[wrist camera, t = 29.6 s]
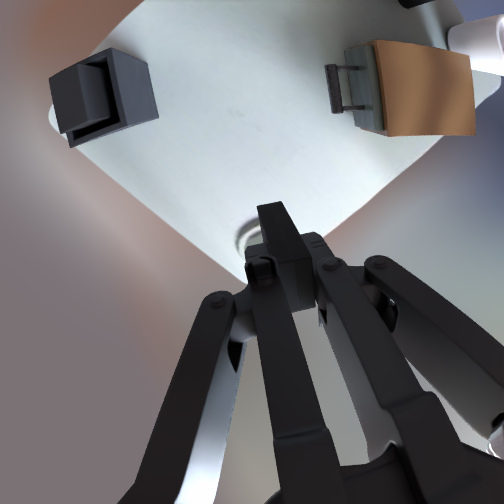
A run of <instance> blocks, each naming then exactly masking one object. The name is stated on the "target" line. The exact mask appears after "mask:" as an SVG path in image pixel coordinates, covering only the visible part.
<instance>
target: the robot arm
mask: <svg viewBox="0 0 504 504" xmlns="http://www.w3.org/2000/svg"><path fill="white" fill-rule="evenodd" d="M257 211H258V216H259V221H260V226H261V232H262V237H263V242H264V243H261V244H256V245H252V246H248V247H247V248H246V250H245V252H244V253H245V259H246V263H245V272H246V276H247V280H248V285H247V287H246V288H245V289H244V290H242V291H241V292H239V293H237V294H235V295H232V294H231V293H230V292H228V291H217V292H214V293H211V294H209V295H208V296H206V297H205V298H204V300H203V301H202V303H201V306H200V308H199V311H198V313H197V316H196V318H195V321H194V323H193V326H192V328H191V331H190V333H189V336H188V338H187V341H186V343H185V346H184V349H183V351H182V354H181V356H180V359H179V362H178V364H177V367H176V369H175V372H174V375H173V377H172V380H171V383H170V385H169V388H168V391H167V393H166V396H165V399H164V402H163V404H162V407H161V410H160V412H159V415H158V418H157V420H156V423H155V426H154V429H153V431H152V434H151V437H150V440H149V443H148V445H147V448H146V451H145V454H144V457H143V460H142V463H141V466H140V469H139V472H138V474H137V477H136V480H135V483H134V484H133V485H132V486H131V488H130V489H129V490H128V491H127V492H126V494H125V495H124V496H123V497H122V499H121V500H120V501H119V502H118V503H117V504H213V502H214V498H215V494H216V490H217V485H218V480H219V476H220V471H221V467H222V462H223V457H224V453H225V448H226V443H227V439H228V433H229V429H230V424H231V420H232V415H233V410H234V405H235V400H236V396H237V391H238V386H239V380H240V376H241V371H242V366H243V361H244V356H245V351H246V346H247V342H246V341H248V340H250V339H252V338H253V337H256V336H257V341H258V347H259V353H260V359H261V366H262V371H263V378H264V384H265V390H266V396H267V402H268V408H269V414H270V420H271V426H272V431H273V446H274V453H275V459H276V465H277V471H278V477H279V483H280V488H281V489H280V490H279V491H277V492H276V493H275V494H274V495H272V496H271V497H270V498H269V499H268V500H267V502H265V504H504V346H503V345H502V344H500V343H499V342H498V341H497V340H496V339H495V338H494V337H492V336H491V335H490V334H489V333H488V332H486V331H485V330H484V329H483V328H482V327H480V326H479V325H478V324H477V323H476V322H474V321H473V320H472V319H471V318H469V317H468V316H467V315H466V314H464V313H463V312H462V311H461V310H459V309H458V308H457V307H456V306H454V305H453V304H452V303H450V302H449V301H448V300H446V299H445V298H444V297H443V296H441V295H440V294H439V293H437V292H436V291H435V290H433V289H432V288H431V287H429V286H428V285H427V284H425V283H424V282H422V281H421V280H420V279H419V278H417V277H416V276H414V275H413V274H411V273H410V272H409V271H407V270H406V269H404V268H403V267H402V266H400V265H399V264H398V263H396V262H394V261H393V260H392V259H390V258H388V257H386V256H381V255H375V256H371V257H369V258H367V259H366V261H365V262H364V266H347V264H346V263H345V261H343V260H342V259H340V258H337V257H335V256H334V254H333V253H332V251H331V250H330V248H329V247H328V246H327V244H326V242H325V241H324V239H323V238H322V236H321V235H319V234H317V233H316V232H310V233H305V234H301V235H300V234H299V232H298V230H297V228H296V226H295V225H294V223H293V221H292V219H291V217H290V216H289V214H288V212H287V210H286V209H285V207H284V205H283V203H282V202H281V201H279V202H274V203H269V204H264V205H259V206H257ZM315 299H316V302H317V304H318V315H319V326H321V322H322V324H323V326H324V329H325V331H326V334H327V336H328V339H329V342H330V344H331V347H332V349H333V352H334V354H335V357H336V359H337V362H338V365H339V367H340V370H341V372H342V375H343V378H344V380H345V383H346V385H347V388H348V391H349V394H350V396H351V399H352V402H353V404H354V407H355V410H356V413H357V415H358V418H359V421H360V424H361V426H362V429H363V432H364V435H365V438H366V441H367V447H368V448H367V449H368V457H369V461H370V463H367V464H362V465H350V466H340V463H339V460H338V456H337V453H336V449H335V446H334V442H333V439H332V436H331V433H330V431H329V429H328V428H327V427H326V425H325V422H324V419H323V416H322V412H321V409H320V405H319V402H318V398H317V395H316V392H315V388H314V385H313V382H312V379H311V375H310V372H309V369H308V365H307V362H306V359H305V355H304V352H303V349H302V346H301V342H300V339H299V336H298V333H297V330H296V326H295V323H294V320H293V317H292V313H293V312H297V311H301V310H306V309H310V308H314V307H316V304H315ZM390 299H391V300H393V301H394V302H395V303H393V302H392V301H390ZM405 358H406V359H407V360H408V361H409V362H410V363H411V364H412V365H413V366H414V367H415V368H416V369H417V370H418V371H419V372H420V373H421V375H422V376H423V377H424V378H425V379H426V380H427V381H428V382H429V383H430V384H431V385H432V386H433V387H434V388H435V389H436V390H437V392H438V393H439V394H440V395H441V396H442V397H443V398H444V399H445V400H446V401H447V402H448V403H449V404H450V405H451V407H452V408H453V409H454V410H455V411H456V412H457V413H458V414H459V415H460V417H461V418H462V419H463V420H464V421H465V422H466V423H467V424H468V425H469V426H470V427H471V428H472V429H473V430H474V431H476V432H477V433H478V434H479V435H481V436H482V437H484V438H485V439H487V440H489V444H488V445H487V453H485V452H483V451H481V450H478V449H476V448H474V447H472V446H469V445H467V444H465V443H462V442H461V441H460V439H459V437H458V435H457V433H456V431H455V429H454V427H453V425H452V423H451V421H450V419H449V417H448V415H447V413H446V411H445V409H444V407H443V406H442V404H441V402H440V400H439V398H438V397H437V396H436V394H434V393H433V392H431V391H430V392H429V391H428V392H425V391H424V390H423V389H422V387H421V386H420V384H419V382H418V380H417V379H416V377H415V375H414V373H413V371H412V369H411V368H410V366H409V364H408V362H407V361H406V359H405ZM495 456H497V457H495Z"/></svg>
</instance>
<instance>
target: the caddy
mask: <svg viewBox="0 0 504 504" xmlns="http://www.w3.org/2000/svg"><path fill="white" fill-rule="evenodd" d="M76 64H82V65H88V66H93V67H98V68H103V69H107V70H109V72H110V78H111V83H112V87H113V92H114V97H115V101H116V106H117V110H118V114H119V118H120V119H119V120H114V121H110V122H105V123H101V124H97V125H93V126H89V127H85V128H81V129H77V130H73V131H70V132H66V134H67V138H68V142H69V146H70V148H73V147H75V146H78V145H80V144H83V143H86V142H88V141H91V140H94V139H97V138H100V137H102V136H105V135H108V134H111V133H114V132H117V131H120V130H123V129H126V128H129V127H132V126H135V125H138V124H141V123H144V122H147V121H151V120H154V119H157V118H159V115H158V111H157V107H156V102H155V98H154V93H153V88H152V84H151V79H150V74H149V69H148V64H147V63H145V62H143V61H141V60H139V59H137V58H134V57H132V56H130V55H128V54H125V53H123V52H121V51H118V50H116V49H113V48H109V49H106V50H104V51H102V52H99V53H97V54H95V55H93V56H90V57H88V58H86V59H84V60H82V61H80V62H78V63H76ZM68 68H69V67H68ZM66 69H67V68H66ZM64 70H65V69H64ZM62 71H63V70H62ZM60 72H61V71H60ZM55 75H56V74H55Z"/></svg>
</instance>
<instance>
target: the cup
mask: <svg viewBox="0 0 504 504" xmlns="http://www.w3.org/2000/svg"><path fill="white" fill-rule="evenodd" d="M447 34H448V50H449V51H453V52H457V53H461V54H465V55H469V57H470V63H471V69H474V70H479V71H484V72H489V73H494V74H498V75H502V76H504V14H501V15H496V16H491V17H487V18H483V19H478V20H474V21H471V22H467V23H463V24H460V25H456V26H454V27H452V28H450V29H449V30H448V31H447Z"/></svg>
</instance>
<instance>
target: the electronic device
mask: <svg viewBox="0 0 504 504" xmlns="http://www.w3.org/2000/svg"><path fill="white" fill-rule="evenodd" d="M397 1H398V2H399V3H400V4H401V5H402V6H403V7H404V8H406V9H409V8H412V7H415V6H418V5H421V4H424V3H428V2H431V1H434V0H397Z"/></svg>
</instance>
